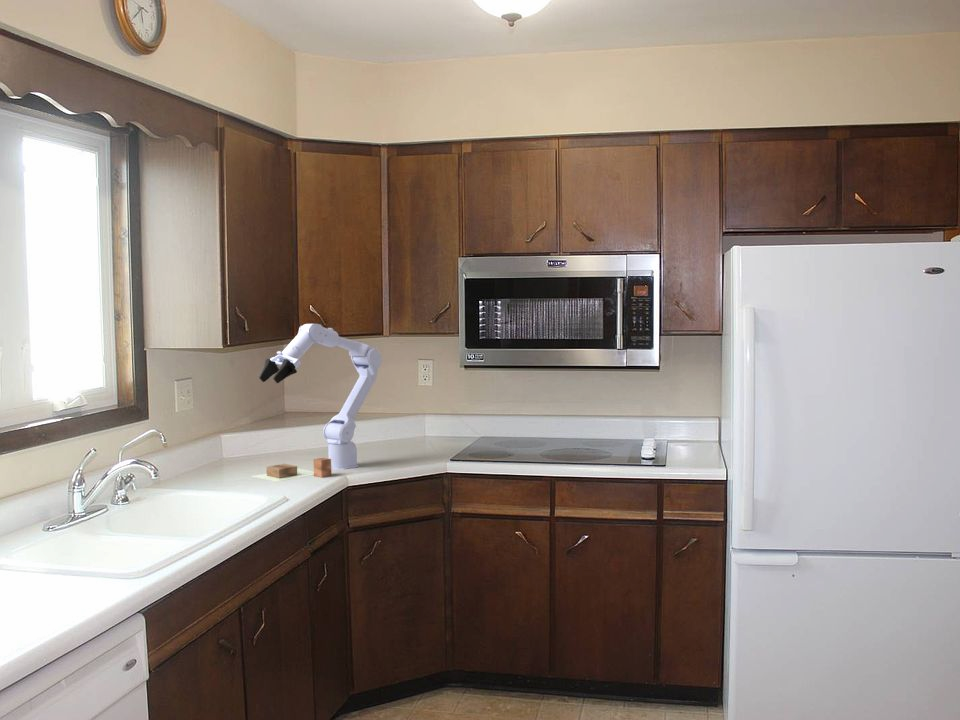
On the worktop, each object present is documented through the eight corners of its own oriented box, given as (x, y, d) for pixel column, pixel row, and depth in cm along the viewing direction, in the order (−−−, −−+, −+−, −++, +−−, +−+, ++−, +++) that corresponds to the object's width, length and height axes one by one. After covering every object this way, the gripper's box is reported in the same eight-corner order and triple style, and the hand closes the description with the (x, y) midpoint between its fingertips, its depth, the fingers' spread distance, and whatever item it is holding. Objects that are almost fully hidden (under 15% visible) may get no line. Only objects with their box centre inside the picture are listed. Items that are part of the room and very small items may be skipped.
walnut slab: (284, 472, 275) (284, 463, 275) (297, 475, 270) (297, 466, 270) (266, 475, 270) (266, 466, 270) (279, 478, 265) (279, 469, 265)
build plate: (297, 469, 283) (297, 468, 283) (322, 474, 274) (322, 473, 274) (251, 477, 270) (251, 476, 269) (276, 482, 260) (276, 481, 260)
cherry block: (323, 475, 272) (323, 457, 271) (331, 477, 269) (331, 458, 269) (313, 477, 269) (313, 459, 268) (321, 479, 266) (321, 460, 266)
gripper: (274, 341, 273) (248, 370, 265) (301, 342, 263) (274, 372, 256) (286, 357, 276) (260, 385, 269) (313, 358, 267) (287, 388, 260)
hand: (268, 380), depth 263 cm, fingers open, 7 cm apart
